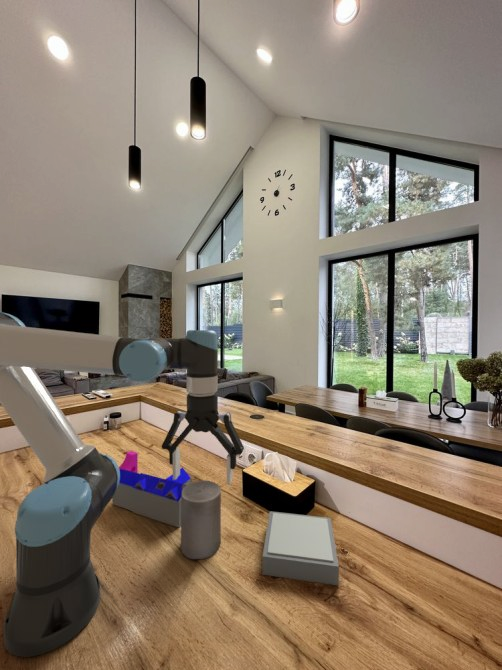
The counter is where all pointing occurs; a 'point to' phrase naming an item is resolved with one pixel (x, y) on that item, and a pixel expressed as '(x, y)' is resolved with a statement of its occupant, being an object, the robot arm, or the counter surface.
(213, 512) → the pillar candle
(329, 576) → the plinth
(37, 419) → the robot arm
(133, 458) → the magenta cradle bracket
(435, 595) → the counter surface
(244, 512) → the counter surface
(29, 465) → the counter surface
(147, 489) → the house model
